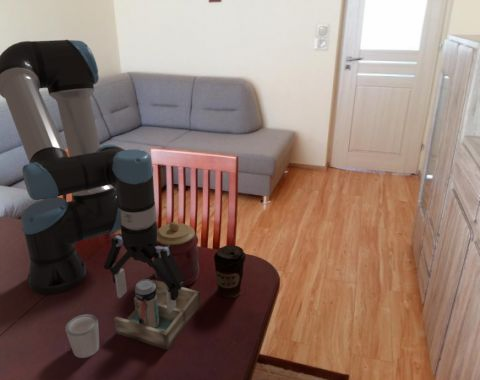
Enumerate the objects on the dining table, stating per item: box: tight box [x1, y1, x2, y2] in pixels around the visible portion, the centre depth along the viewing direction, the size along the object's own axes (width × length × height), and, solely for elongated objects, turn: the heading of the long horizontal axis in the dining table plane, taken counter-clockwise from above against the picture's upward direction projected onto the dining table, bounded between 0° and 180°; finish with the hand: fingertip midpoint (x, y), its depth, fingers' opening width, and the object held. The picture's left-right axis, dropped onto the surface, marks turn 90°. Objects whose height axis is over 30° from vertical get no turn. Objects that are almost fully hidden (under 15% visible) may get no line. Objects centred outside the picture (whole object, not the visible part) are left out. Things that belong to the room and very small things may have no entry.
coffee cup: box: [213, 244, 247, 298], centre depth 108 cm, size 9×8×13 cm
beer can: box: [134, 278, 159, 328], centre depth 94 cm, size 5×5×12 cm
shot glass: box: [65, 313, 100, 359], centre depth 90 cm, size 7×7×7 cm
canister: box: [152, 221, 200, 288], centre depth 113 cm, size 13×13×18 cm
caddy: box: [113, 278, 201, 351], centre depth 99 cm, size 14×16×4 cm
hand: (146, 301), depth 94 cm, fingers open, 13 cm apart
